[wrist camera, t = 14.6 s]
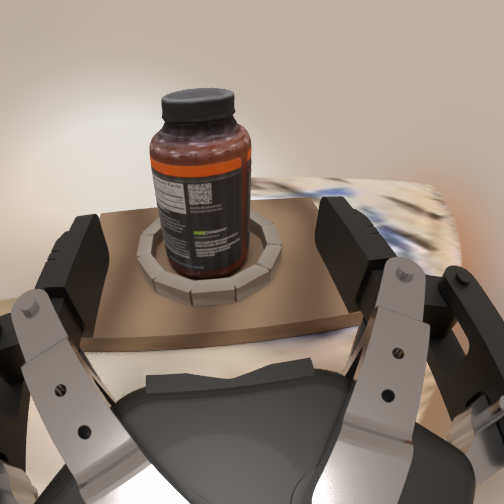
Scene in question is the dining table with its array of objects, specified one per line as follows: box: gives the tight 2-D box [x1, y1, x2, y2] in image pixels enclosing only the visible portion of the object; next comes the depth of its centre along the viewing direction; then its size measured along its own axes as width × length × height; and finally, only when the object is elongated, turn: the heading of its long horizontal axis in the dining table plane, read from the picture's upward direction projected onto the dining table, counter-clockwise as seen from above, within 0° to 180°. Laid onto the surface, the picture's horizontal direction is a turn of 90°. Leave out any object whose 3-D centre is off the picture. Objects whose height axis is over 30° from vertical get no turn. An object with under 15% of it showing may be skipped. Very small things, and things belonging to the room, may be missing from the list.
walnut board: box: [80, 198, 363, 352], centre depth 22 cm, size 20×14×3 cm
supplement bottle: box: [150, 88, 251, 279], centre depth 18 cm, size 6×6×11 cm
